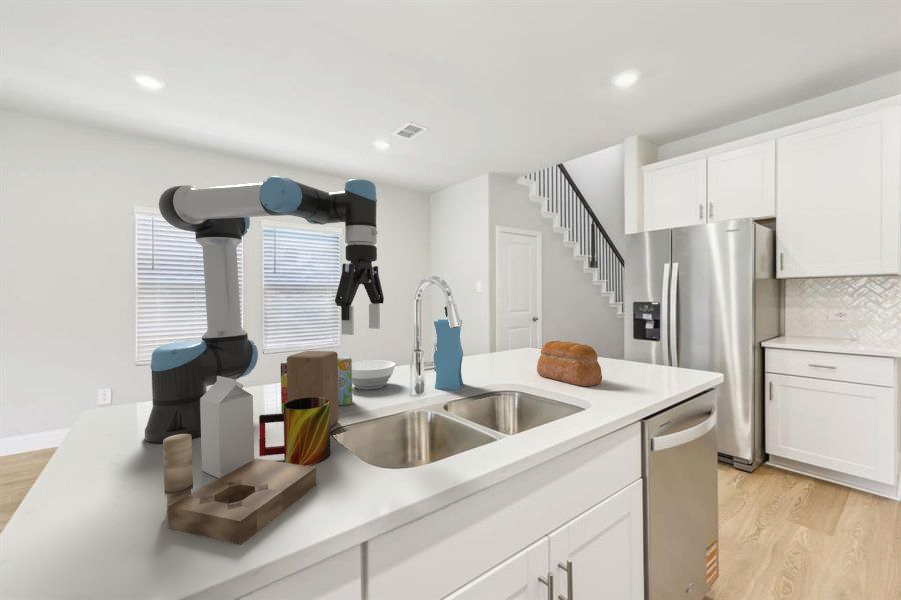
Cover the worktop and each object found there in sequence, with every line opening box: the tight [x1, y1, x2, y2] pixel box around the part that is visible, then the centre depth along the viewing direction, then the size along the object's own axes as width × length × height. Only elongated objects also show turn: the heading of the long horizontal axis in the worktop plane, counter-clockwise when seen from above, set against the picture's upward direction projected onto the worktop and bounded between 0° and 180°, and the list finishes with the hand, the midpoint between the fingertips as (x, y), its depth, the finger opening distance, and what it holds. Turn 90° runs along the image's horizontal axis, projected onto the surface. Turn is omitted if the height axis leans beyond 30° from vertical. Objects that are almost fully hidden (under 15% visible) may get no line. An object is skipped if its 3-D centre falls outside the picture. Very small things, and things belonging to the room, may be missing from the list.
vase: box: [433, 318, 464, 391], centre depth 150 cm, size 10×10×25 cm
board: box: [167, 458, 317, 545], centre depth 68 cm, size 14×18×4 cm
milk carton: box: [200, 376, 255, 479], centre depth 82 cm, size 7×7×19 cm
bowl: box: [352, 359, 396, 391], centre depth 151 cm, size 20×20×8 cm
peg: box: [162, 434, 194, 512], centre depth 68 cm, size 4×4×12 cm
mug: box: [258, 397, 331, 466], centre depth 87 cm, size 10×14×12 cm
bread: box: [536, 340, 603, 387], centre depth 160 cm, size 14×26×15 cm, turn 33°
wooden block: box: [286, 350, 340, 428], centre depth 106 cm, size 10×10×20 cm
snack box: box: [280, 355, 353, 412], centre depth 126 cm, size 21×6×15 cm, turn 108°
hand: (361, 331), depth 98 cm, fingers open, 13 cm apart
